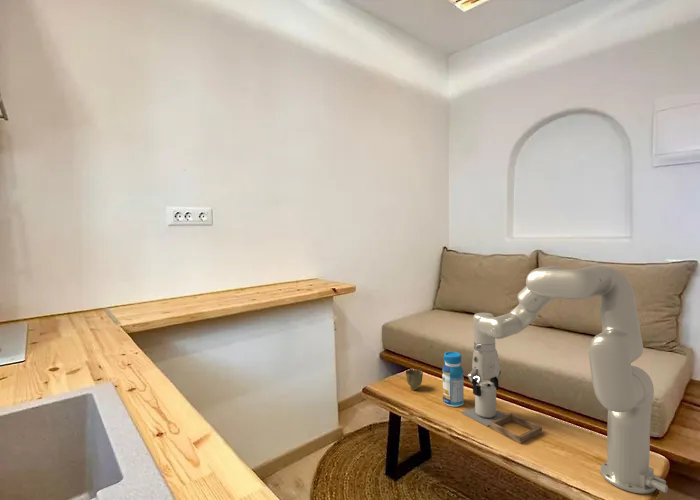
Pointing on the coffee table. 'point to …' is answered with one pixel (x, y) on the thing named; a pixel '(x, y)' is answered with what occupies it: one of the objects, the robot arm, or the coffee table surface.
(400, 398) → the coffee table surface
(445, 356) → the beverage bottle
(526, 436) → the wooden picture frame
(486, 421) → the mat
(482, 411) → the can
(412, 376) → the cup
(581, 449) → the coffee table surface
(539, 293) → the robot arm
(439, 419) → the coffee table surface
